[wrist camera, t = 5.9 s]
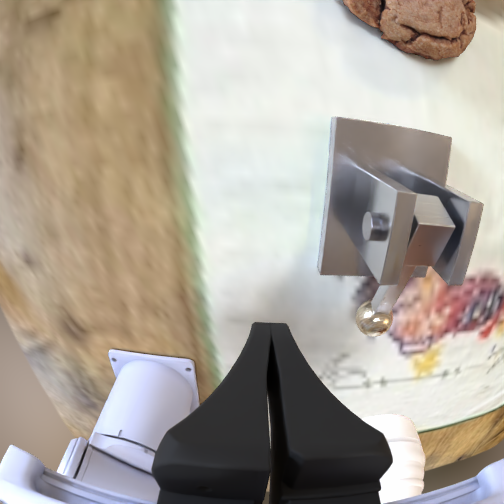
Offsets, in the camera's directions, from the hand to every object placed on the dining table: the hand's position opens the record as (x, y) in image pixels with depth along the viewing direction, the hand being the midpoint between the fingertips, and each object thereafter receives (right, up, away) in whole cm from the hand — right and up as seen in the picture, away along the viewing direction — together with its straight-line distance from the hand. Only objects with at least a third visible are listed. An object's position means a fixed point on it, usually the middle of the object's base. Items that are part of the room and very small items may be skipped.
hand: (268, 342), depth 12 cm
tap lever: (+8, +3, +6) cm, 10 cm away
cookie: (+9, +21, +1) cm, 23 cm away
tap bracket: (+8, +7, +7) cm, 13 cm away
